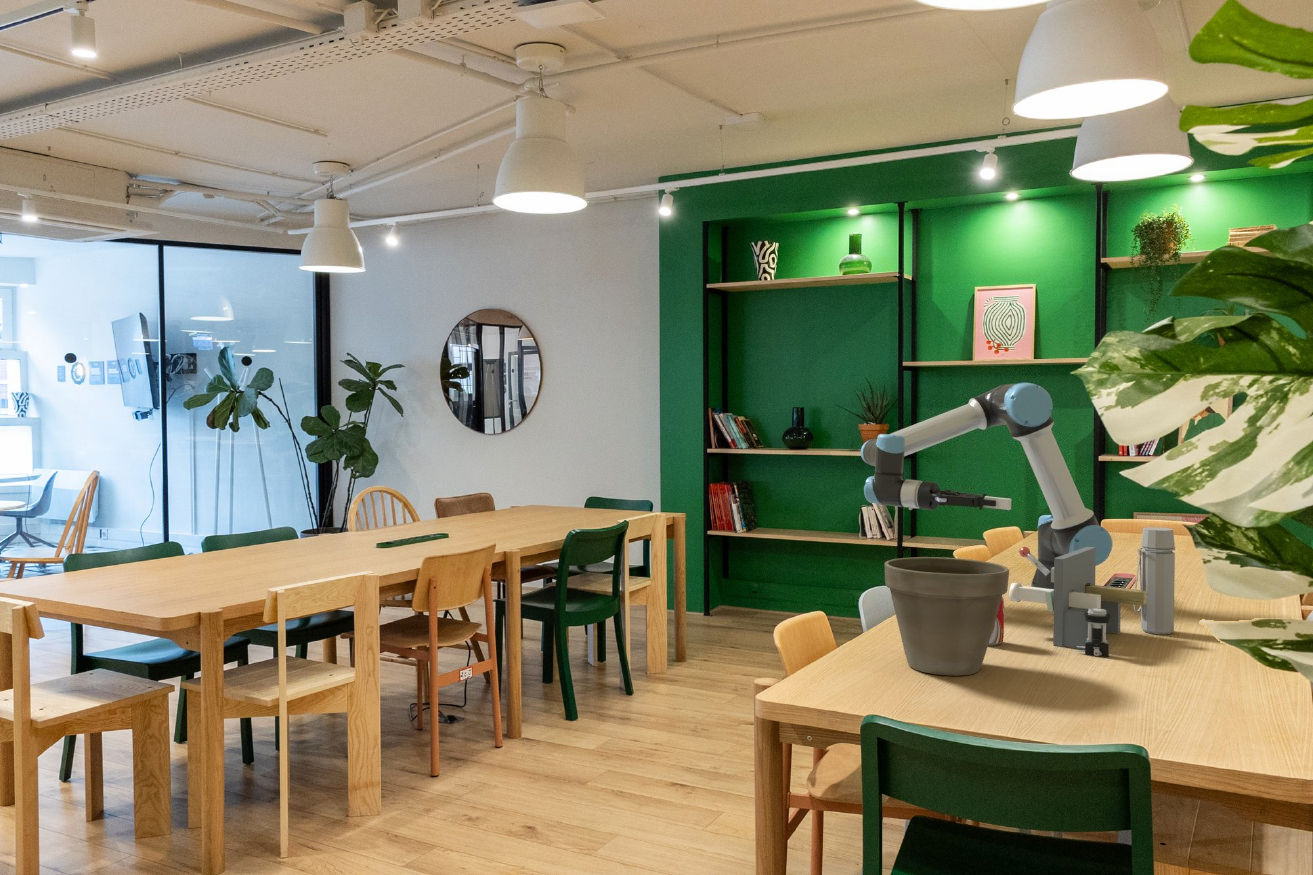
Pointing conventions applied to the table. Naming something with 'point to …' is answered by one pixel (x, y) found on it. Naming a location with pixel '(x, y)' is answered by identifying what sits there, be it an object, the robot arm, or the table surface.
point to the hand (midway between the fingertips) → (1010, 504)
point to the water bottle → (1157, 580)
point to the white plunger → (1038, 594)
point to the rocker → (1050, 600)
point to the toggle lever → (1033, 560)
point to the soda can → (998, 627)
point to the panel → (1073, 577)
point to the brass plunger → (1118, 594)
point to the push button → (1096, 633)
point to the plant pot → (945, 610)
